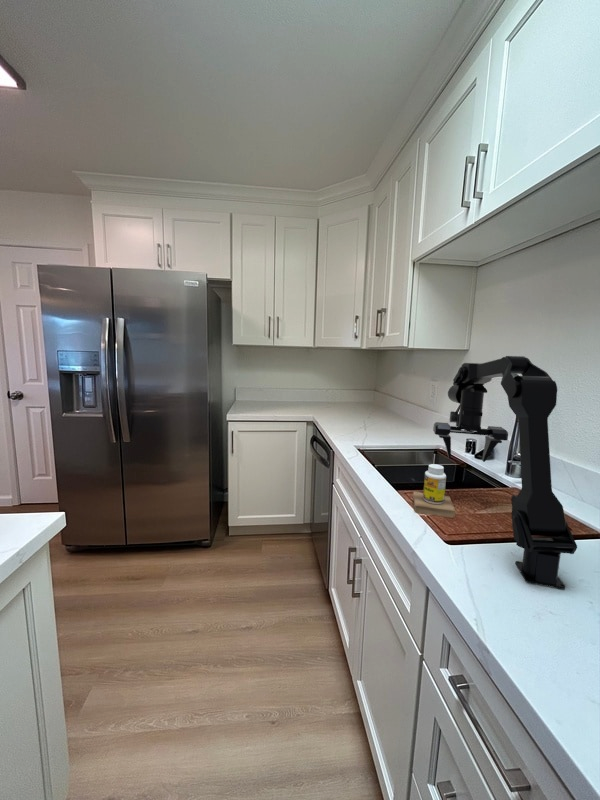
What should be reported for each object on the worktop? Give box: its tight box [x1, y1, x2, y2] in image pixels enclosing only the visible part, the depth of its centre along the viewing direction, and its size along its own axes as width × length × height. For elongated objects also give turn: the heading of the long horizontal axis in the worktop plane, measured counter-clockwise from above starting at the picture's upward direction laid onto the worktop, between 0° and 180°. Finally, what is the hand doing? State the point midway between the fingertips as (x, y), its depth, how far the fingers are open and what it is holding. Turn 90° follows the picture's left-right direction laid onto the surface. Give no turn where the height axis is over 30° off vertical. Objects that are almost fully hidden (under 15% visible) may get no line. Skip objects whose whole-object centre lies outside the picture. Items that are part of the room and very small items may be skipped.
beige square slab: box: [412, 491, 456, 519], centre depth 95 cm, size 10×10×2 cm
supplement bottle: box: [422, 463, 447, 504], centre depth 94 cm, size 6×6×10 cm
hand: (466, 459), depth 98 cm, fingers open, 9 cm apart
